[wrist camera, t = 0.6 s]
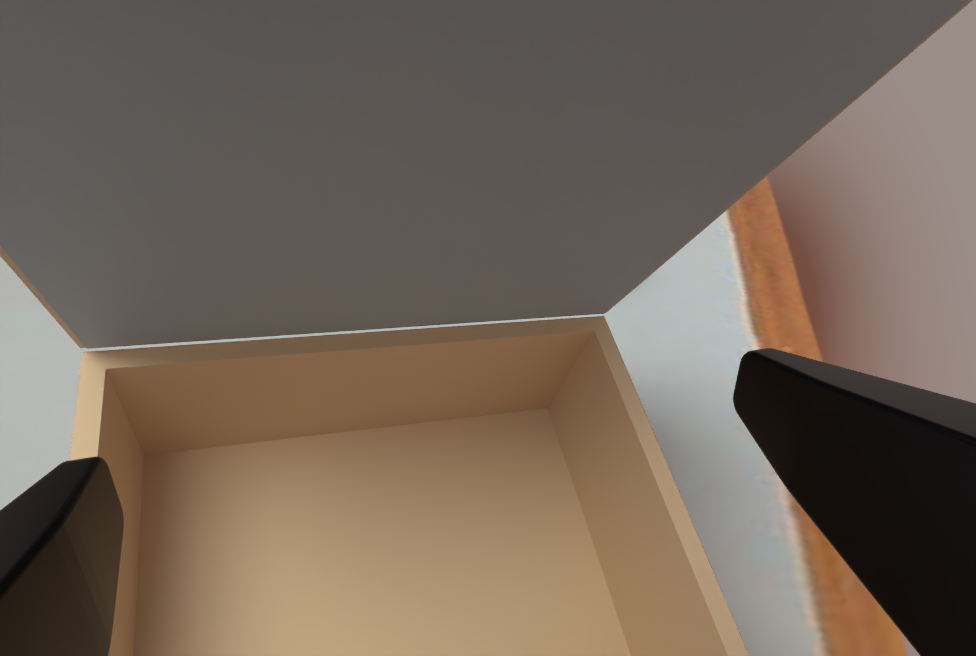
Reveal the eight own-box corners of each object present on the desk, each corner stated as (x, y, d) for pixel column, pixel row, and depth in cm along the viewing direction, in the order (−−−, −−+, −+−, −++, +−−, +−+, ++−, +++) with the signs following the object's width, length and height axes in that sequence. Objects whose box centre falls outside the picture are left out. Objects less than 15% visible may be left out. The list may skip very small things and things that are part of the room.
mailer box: (715, 878, 19) (854, 901, 14) (83, 1143, 13) (-33, 1320, 9) (552, 401, 27) (604, 316, 23) (128, 449, 22) (81, 352, 17)
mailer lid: (1169, -159, 8) (1142, -196, 8) (-918, -782, 3) (-840, -835, 3) (606, 315, 22) (602, 297, 23) (80, 351, 17) (80, 326, 17)
